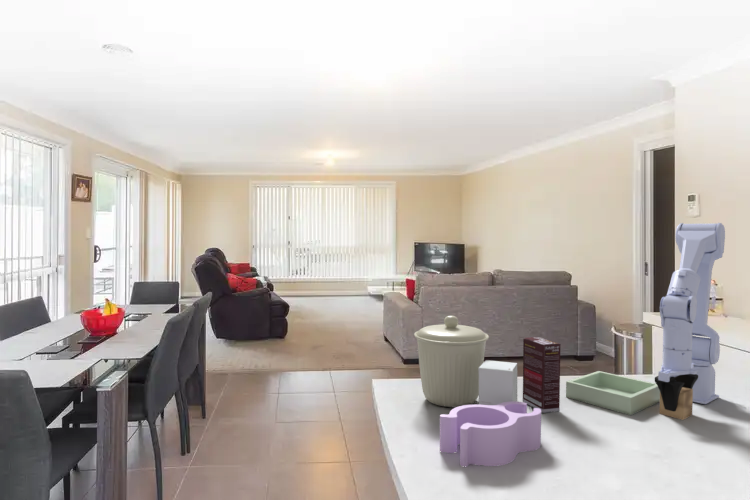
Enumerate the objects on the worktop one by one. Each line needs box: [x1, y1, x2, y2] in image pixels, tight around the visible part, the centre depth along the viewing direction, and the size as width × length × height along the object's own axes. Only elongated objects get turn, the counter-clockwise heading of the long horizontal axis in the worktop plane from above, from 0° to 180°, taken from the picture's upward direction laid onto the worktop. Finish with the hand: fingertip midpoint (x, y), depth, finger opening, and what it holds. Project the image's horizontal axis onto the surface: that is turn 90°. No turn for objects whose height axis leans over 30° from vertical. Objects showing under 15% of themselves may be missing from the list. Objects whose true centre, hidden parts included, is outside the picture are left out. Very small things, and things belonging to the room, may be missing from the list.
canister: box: [413, 315, 490, 408], centre depth 123 cm, size 18×18×21 cm
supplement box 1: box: [478, 359, 518, 405], centre depth 110 cm, size 7×7×13 cm
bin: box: [565, 370, 660, 416], centre depth 125 cm, size 16×16×4 cm
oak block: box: [659, 387, 693, 421], centre depth 115 cm, size 5×5×6 cm
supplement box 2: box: [522, 336, 561, 414], centre depth 120 cm, size 9×5×16 cm, turn 17°
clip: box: [439, 401, 542, 468], centre depth 96 cm, size 20×12×7 cm, turn 116°
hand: (675, 407), depth 115 cm, fingers open, 6 cm apart
